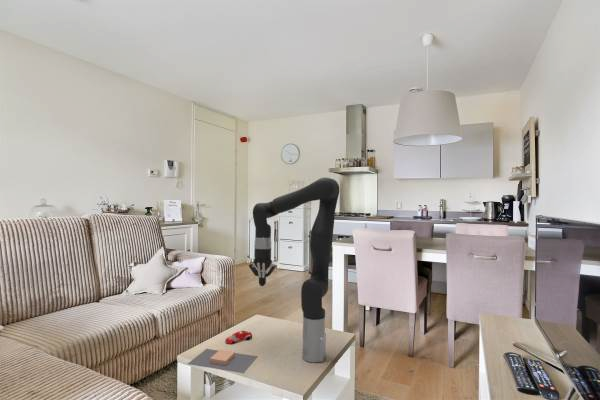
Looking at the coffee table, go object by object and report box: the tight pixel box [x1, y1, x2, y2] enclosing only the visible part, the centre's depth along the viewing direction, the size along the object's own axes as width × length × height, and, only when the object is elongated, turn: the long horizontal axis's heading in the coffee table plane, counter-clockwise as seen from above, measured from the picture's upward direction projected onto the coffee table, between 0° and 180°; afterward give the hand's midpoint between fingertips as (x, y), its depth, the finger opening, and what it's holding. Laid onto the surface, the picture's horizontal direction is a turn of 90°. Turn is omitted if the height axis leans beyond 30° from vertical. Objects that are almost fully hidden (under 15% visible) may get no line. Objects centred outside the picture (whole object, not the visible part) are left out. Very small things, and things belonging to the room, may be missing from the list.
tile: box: [210, 349, 236, 366], centre depth 132 cm, size 2×8×7 cm
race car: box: [225, 330, 253, 345], centre depth 152 cm, size 13×5×4 cm, turn 131°
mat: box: [187, 348, 259, 374], centre depth 132 cm, size 24×14×1 cm, turn 75°
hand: (262, 285), depth 147 cm, fingers closed
